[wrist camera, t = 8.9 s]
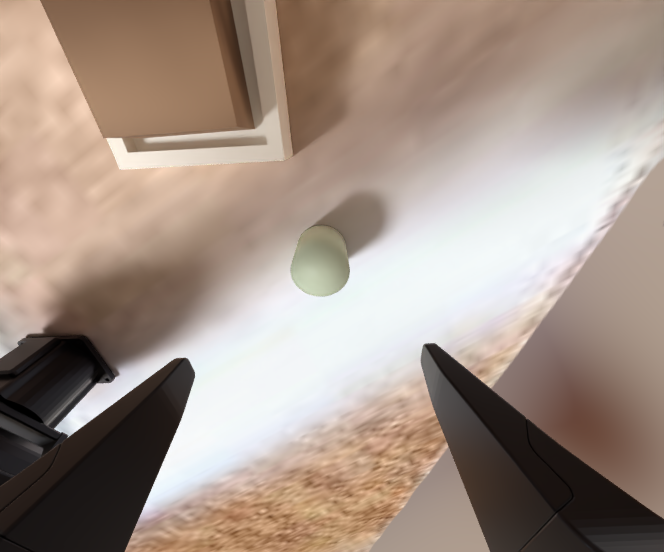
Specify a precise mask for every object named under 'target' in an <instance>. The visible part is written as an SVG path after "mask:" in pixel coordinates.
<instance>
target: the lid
mask: <svg viewBox="0 0 664 552" xmlns="http://www.w3.org/2000/svg"><path fill="white" fill-rule="evenodd" d="M40 1H41V3H42V5H43V7H44V9H45V12H46V14H47V16H48V18H49V20H50V22H51V25H52V27H53V29H54V31H55V33H56V36H57V38H58V40H59V42H60V44H61V46H62V49H63V51H64V53H65V55H66V57H67V59H68V62H69V64H70V66H71V68H72V70H73V73H74V75H75V77H76V79H77V81H78V83H79V86H80V88H81V90H82V92H83V94H84V96H85V99H86V101H87V103H88V105H89V107H90V110H91V112H92V114H93V116H94V118H95V120H96V123H97V125H98V127H99V129H100V131H101V133H102V136H103V138H153V137H165V136H177V135H189V134H202V133H214V132H226V131H238V130H250V129H255V126H254V121H253V115H252V110H251V105H250V100H249V95H248V89H247V84H246V79H245V74H244V69H243V63H242V58H241V53H240V48H239V43H238V37H237V32H236V27H235V22H234V17H233V11H232V6H231V1H230V0H40Z"/></svg>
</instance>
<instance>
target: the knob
mask: <svg viewBox="0 0 664 552" xmlns="http://www.w3.org/2000/svg"><path fill="white" fill-rule="evenodd" d="M349 273H350V269H349V262H348V256H347V250H346V244H345V241H344V238H343V237H342V235H341V234H340V233H339V232H338V231H337V230H335V229H334V228H332V227H329V226H324V225H318V226H313V227H311V228H309V229H307V230H306V231H304V232H303V233H302V235H301V236H300V238H299V240H298V243H297V247H296V250H295V254H294V257H293V260H292V264H291V276H292V279H293V281H294V283H295V284H296V286H297V287H298V288H299V289H300V290H302V291H303V292H305V293H307V294H309V295H313V296H329V295H332V294H334V293H336V292H338V291H339V290H341V289H342V288H343V287H344V285H345V284H346V282H347V281H348V278H349Z"/></svg>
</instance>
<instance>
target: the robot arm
mask: <svg viewBox="0 0 664 552" xmlns="http://www.w3.org/2000/svg"><path fill="white" fill-rule="evenodd" d="M18 345H19V346H18V347H17V348H15V349H14V350H12V351H11V352H9V353H8V354H6V355H5V356H4V357H2V358H1V359H0V552H125V549H126V547H127V545H128V542H129V540H130V538H131V535H132V533H133V531H134V528H135V526H136V524H137V521H138V519H139V517H140V514H141V512H142V510H143V507H144V505H145V503H146V500H147V498H148V496H149V493H150V491H151V489H152V486H153V484H154V482H155V479H156V477H157V475H158V473H159V470H160V468H161V466H162V463H163V461H164V459H165V456H166V454H167V452H168V449H169V447H170V445H171V442H172V440H173V438H174V435H175V433H176V431H177V428H178V426H179V423H180V421H181V418H182V416H183V413H184V410H185V407H186V403H187V400H188V397H189V394H190V391H191V388H192V385H193V382H194V378H195V372H194V370H193V368H192V366H191V364H190V362H189V360H188V359H187V358H176V359H174V360H172V361H171V362H170V363H168V364H167V365H166V366H164V367H163V368H161V369H160V370H159V371H157V372H156V373H155V374H153V375H152V376H151V377H149V378H148V379H147V380H145V381H144V382H143V383H141V384H140V385H138V386H137V387H136V388H134V389H133V390H132V391H130V392H129V393H128V394H126V395H125V396H124V397H122V398H121V399H120V400H118V401H117V402H115V403H114V404H113V405H111V406H110V407H109V408H107V409H106V410H105V411H103V412H102V413H101V414H99V415H98V416H97V417H95V418H94V419H92V420H91V421H90V422H88V423H87V424H86V425H84V426H83V427H82V428H80V429H79V430H78V431H76V432H75V433H74V434H72V435H71V436H69V437H68V435H67V434H65V433H63V432H62V433H60V432H58V431H56V430H54V428H55V427H56V426H57V425H58V424H59V423H60V422H61V421H62V420H63V419H64V418H65V417H66V416H67V414H68V413H69V412H70V411H71V410H72V409H73V408H74V407H75V406H76V405H77V404H78V403H79V402H80V401H81V400H82V399H83V397H84V396H85V395H86V394H87V393H88V392H89V391H90V390H91V389H92V388H93V387H94V386H95V385H96V384H97V383H111V382H112V381H113V380H114V379H115V376H114V375H113V374H112V372H111V371H110V370H109V368H108V367H107V365H106V364H105V363H104V361H103V360H102V358H101V357H100V356H99V354H98V353H97V351H96V350H95V349H94V347H93V346H92V345H91V343H90V342H89V340H88V339H87V338H86V337H84V336H61V337H40V338H23V339H22V340H20V341H19V342H18ZM421 365H422V369H423V373H424V376H425V380H426V384H427V387H428V391H429V394H430V398H431V401H432V405H433V408H434V410H435V413H436V416H437V418H438V421H439V423H440V426H441V428H442V431H443V433H444V436H445V438H446V441H447V443H448V446H449V448H450V451H451V453H452V456H453V459H454V461H455V464H456V466H457V469H458V471H459V474H460V476H461V479H462V481H463V483H464V486H465V489H466V491H467V494H468V496H469V499H470V501H471V504H472V507H473V509H474V511H475V514H476V517H477V519H478V521H479V524H480V527H481V529H482V532H483V534H484V537H485V539H486V542H487V544H488V547H489V550H490V552H664V519H663V518H662V517H660V516H658V515H657V514H655V513H654V512H652V511H651V510H650V509H648V508H647V507H645V506H644V505H642V504H641V503H640V502H638V501H637V500H635V499H634V498H633V497H631V496H630V495H629V494H627V493H626V492H624V491H623V490H622V489H620V488H619V487H618V486H616V485H615V484H613V483H612V482H611V481H609V480H608V479H606V478H605V477H603V476H602V475H601V474H599V473H598V472H597V471H595V470H594V469H592V468H591V467H590V466H588V465H587V464H585V463H584V462H583V461H581V460H580V459H579V458H577V457H576V456H575V455H573V454H572V453H571V452H569V451H568V450H567V449H565V448H564V447H563V446H561V445H560V444H558V443H557V442H556V441H555V440H554V439H552V438H551V437H550V436H548V435H547V434H546V433H545V432H543V431H542V430H541V429H540V428H538V427H537V426H536V425H535V424H534V423H532V422H531V421H530V420H529V419H526V417H525V416H524V415H522V414H521V413H520V412H519V411H517V410H516V409H515V408H514V407H513V406H511V405H510V404H509V403H508V402H506V401H505V400H504V399H503V398H502V397H500V396H499V395H498V394H497V393H495V392H494V391H493V390H492V389H491V388H489V387H488V386H487V385H486V384H484V383H483V382H482V381H481V380H479V379H478V378H477V377H476V376H475V375H473V374H472V373H471V372H470V371H468V370H467V369H466V368H465V367H464V366H462V365H461V364H460V363H459V362H457V361H456V360H455V359H454V358H453V357H451V356H450V355H449V354H448V353H446V352H445V351H444V350H443V349H442V348H440V347H439V346H438V345H437V344H435V343H428V344H424V345H423V348H422V355H421ZM67 437H68V438H67ZM66 438H67V439H66Z"/></svg>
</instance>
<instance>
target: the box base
mask: <svg viewBox="0 0 664 552" xmlns="http://www.w3.org/2000/svg"><path fill="white" fill-rule="evenodd" d="M230 1H231V6H232V11H233V17H234V22H235V27H236V32H237V37H238V43H239V48H240V53H241V58H242V63H243V69H244V74H245V79H246V84H247V89H248V95H249V100H250V105H251V110H252V115H253V121H254V126H255V129H250V130H238V131H226V132H214V133H202V134H189V135H177V136H165V137H153V138H106V139H107V141H108V143H109V145H110V148H111V150H112V152H113V155H114V157H115V159H116V162H117V164H118V166H119V168H120V170H123V169H142V168H160V167H178V166H196V165H214V164H232V163H250V162H268V161H285V160H287V159H289V158H290V157H292V156H293V150H292V141H291V132H290V123H289V115H288V106H287V97H286V88H285V80H284V71H283V62H282V53H281V44H280V36H279V27H278V18H277V9H276V1H275V0H230Z"/></svg>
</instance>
